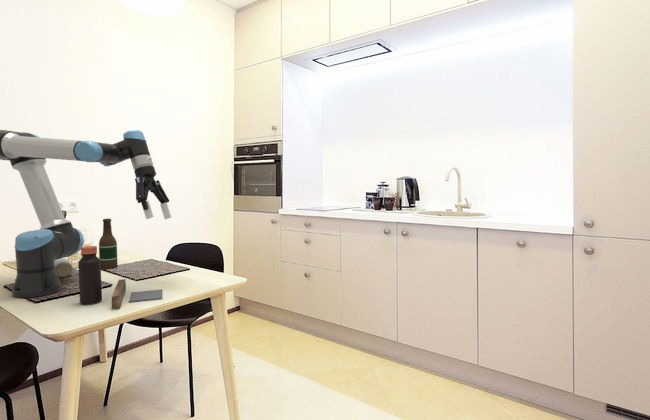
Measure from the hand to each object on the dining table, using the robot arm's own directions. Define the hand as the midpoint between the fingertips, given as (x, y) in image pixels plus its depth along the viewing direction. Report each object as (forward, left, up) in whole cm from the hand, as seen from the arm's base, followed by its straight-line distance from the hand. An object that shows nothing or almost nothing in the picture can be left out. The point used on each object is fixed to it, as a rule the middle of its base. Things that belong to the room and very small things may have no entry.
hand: (159, 218), depth 151 cm
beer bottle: (-24, +45, -29) cm, 58 cm away
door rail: (-14, -9, -29) cm, 33 cm away
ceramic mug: (-40, +35, -29) cm, 60 cm away
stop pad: (-5, -9, -29) cm, 30 cm away
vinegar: (-23, -9, -29) cm, 38 cm away
